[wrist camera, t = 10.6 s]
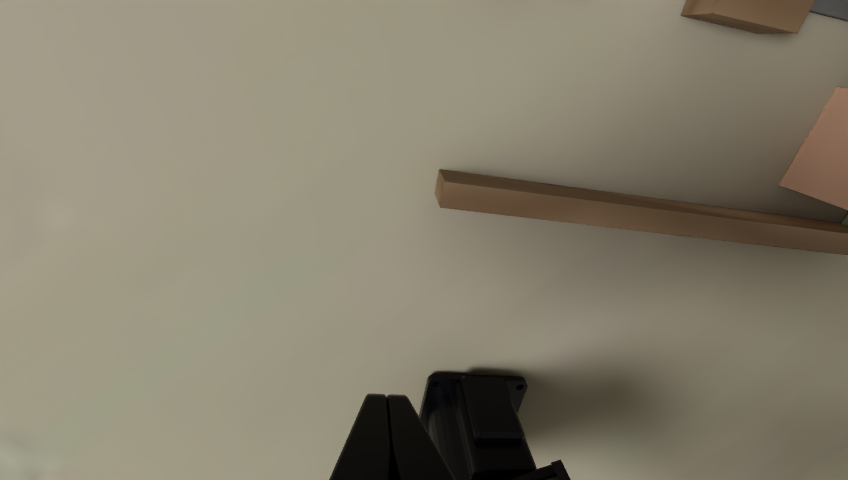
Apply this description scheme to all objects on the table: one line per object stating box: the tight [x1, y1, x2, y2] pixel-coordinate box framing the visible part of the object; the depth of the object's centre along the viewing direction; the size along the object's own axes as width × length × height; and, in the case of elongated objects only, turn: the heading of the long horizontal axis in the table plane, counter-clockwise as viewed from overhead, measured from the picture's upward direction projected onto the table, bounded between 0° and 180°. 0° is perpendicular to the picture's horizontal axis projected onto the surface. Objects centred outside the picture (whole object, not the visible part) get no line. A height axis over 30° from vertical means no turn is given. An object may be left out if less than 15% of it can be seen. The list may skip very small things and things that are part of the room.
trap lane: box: [435, 0, 848, 255], centre depth 17 cm, size 16×25×2 cm, turn 80°
